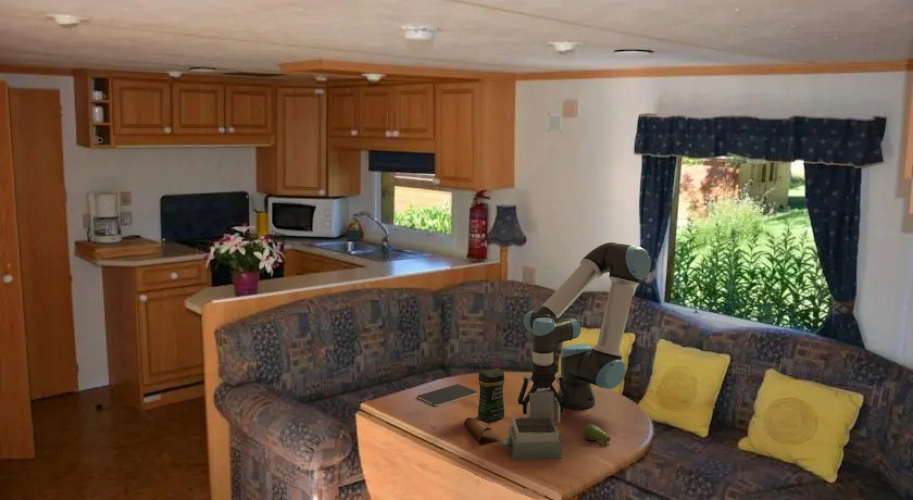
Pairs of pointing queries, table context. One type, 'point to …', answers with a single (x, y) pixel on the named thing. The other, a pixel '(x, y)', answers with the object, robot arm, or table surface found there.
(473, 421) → the sunglasses case
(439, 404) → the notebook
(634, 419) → the table surface
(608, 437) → the pear
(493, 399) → the coffee jar
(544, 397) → the skincare box
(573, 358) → the robot arm
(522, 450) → the grey open rectangular box
